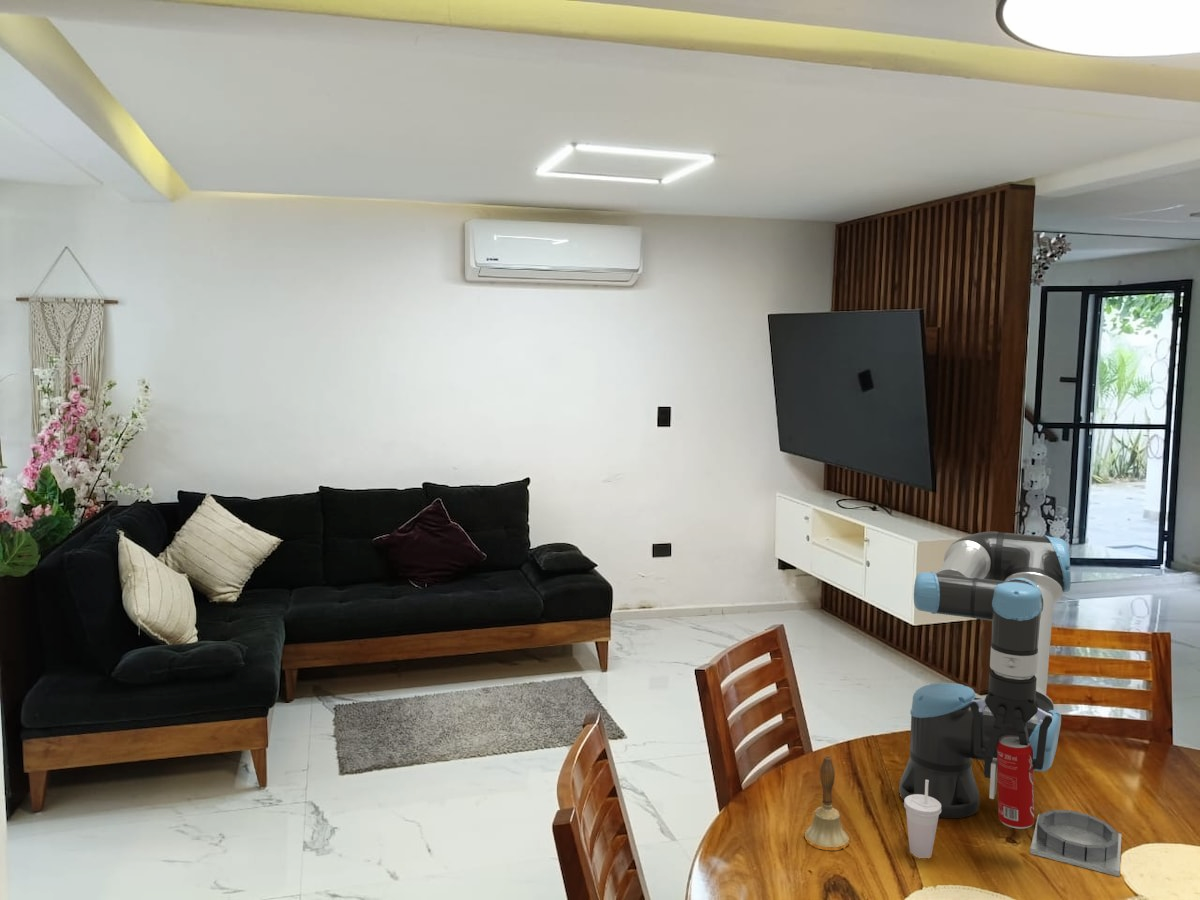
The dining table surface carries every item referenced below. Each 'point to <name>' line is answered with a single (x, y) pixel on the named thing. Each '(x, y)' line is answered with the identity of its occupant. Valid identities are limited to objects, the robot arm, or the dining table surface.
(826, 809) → the hand bell
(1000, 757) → the beverage can
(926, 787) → the smoothie
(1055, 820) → the collar
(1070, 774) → the dining table surface
